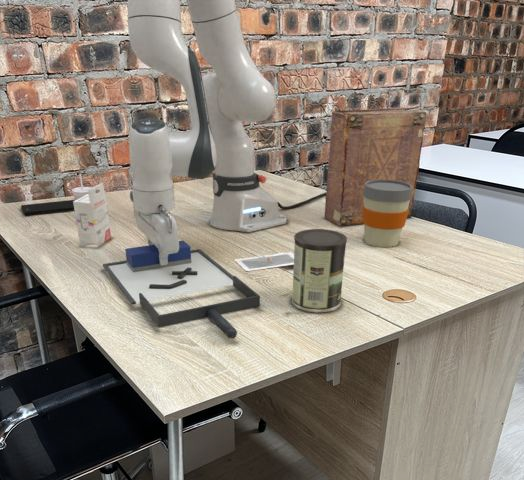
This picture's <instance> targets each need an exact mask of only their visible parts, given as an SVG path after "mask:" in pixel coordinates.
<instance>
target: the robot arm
mask: <svg viewBox="0 0 524 480" xmlns="http://www.w3.org/2000/svg"><path fill="white" fill-rule="evenodd" d="M186 2H187V8H188V13H189V17H190V21H191V25H192V28H193V33H194V35H195V40H196V44H197V48H198V51H199V54H200V56H201V58H202V59H203V60H204V61H205V62H206V63H207V64H208V65H209V66H210V67H211V68H212V70H213V71H214V72H211V73H207V74H204V75H202V71H201V65H200V63H199V59H198V57H197V54H196V53H195V51H194V50H192V49H190V48H189V46H188V45H187V43H186V41H185V39H184V35H183V29H182V10H181V1H180V0H127V9H126V10H127V30H128V31H127V32H128V38H129V44H130V47H131V48H130V49H131V50H132V52H133V54H134V55H135V56H136V58H137V59H138V60H139V61H140V62H141V63H143V64H144V65H146V66H147V67H149V68H150V69H153V70H155V71H157V72H159V73H161V74H163V75H166V76H168V77H170V78H172V79H173V80H175V81H176V82H178V83H179V84H180V85H181V86H182V88H183V90H184V93H185V97H186V102H187V103H186V104H187V109H188V115H189V120H190V126H191V129H190V130H188V131H177V130H175V131H172V130H170V131H169V130H168V126H167V124H166V123H165V121H163V120H161V119H157V118H150V117H149V118H142V119H138V120H135V121H134V122H132V123H131V124H130V127H129V137H128V138H129V139H128V140H129V141H128V154H129V167H130V170H131V172H132V184H131V186H132V187H131V188H132V190H130V191H129V198H130V201H131V202H132V207H133V213H134V218H135V224H136V226H137V229H138V230H139V231H140V232H141V233H142V234H143V236H145V237H146V241H147V246H148V245H155V246H156V247H157V248H158V251H159V256H158V262H159V264H160V265H167V264H168V254H173V253H177V252H178V251H179V241H180V240H179V239H180V238H179V232H178V230H179V229H178V225H177V221H176V218H175V217H174V216H173V215H172V214H171V211H173V210H174V209H175V208H176V201H175V199H176V198H175V187H174V182H173V178H172V177H174V178H175V177H179V178H180V177H181V178H188V179H197V180H204V179H207V177H209V176H210V175H211V174H212V193H213V204H212V211H211V216H210V219H209V225H211V226H212V227H213V228H216V229H221V230H224V231H225V230H226V231H238V232H243V233H252V232H256V231H260V230H265V229H268V228H272V227H277V226H281V225H285V224H287V223H288V220H287V217H286V216H285V215H284V214H282V213H280V209H281V210H283V211H284V210H291V209H295V208H297V207H301V206H304V205H306V204H308V203H311V202H313V201H315V200H318V199H320V198H323V197H326V192H323V193H320V194H318V195H315V196H313V197H311V198H308V199H306V200H302V201H300V202H298V203H297V202H296V203H294V204H292V205H289V206H284V205H282V204H281V203H280V202H279V201H277V199H276V198H275V197H274V196H273V195H272V194H270V193H269V192H268V191H266V189H264V188H263V187H262V186H260V183H261V184H266V182H267V177H266V176H265V175H263V174H258V173H256V172H255V144H254V142H253V140H252V139H251V138H250V136H249V135H248V134H247V132H246V130H245V127H244V123H258V122H263V121H266V120H267V119H269V118H270V117H271V115H272V114H273V112H274V110H275V107H276V102H277V95H276V91H275V88H274V85H272V83H271V82H270V81H268V79H266V78H265V77H264V76H263V74H262V73H261V71H260V70H259V69H258V67H257V66H256V63H254V60H253V58H252V57H251V55H250V52H249V50H248V48H247V45H246V43H245V40H244V35H243V32H242V28H241V23H240V20H239V19H240V18H239V15H238V10H237V6H236V1H235V0H186Z"/></svg>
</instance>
